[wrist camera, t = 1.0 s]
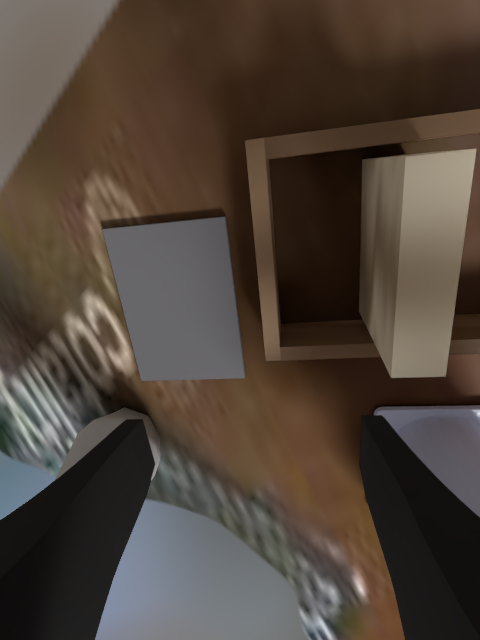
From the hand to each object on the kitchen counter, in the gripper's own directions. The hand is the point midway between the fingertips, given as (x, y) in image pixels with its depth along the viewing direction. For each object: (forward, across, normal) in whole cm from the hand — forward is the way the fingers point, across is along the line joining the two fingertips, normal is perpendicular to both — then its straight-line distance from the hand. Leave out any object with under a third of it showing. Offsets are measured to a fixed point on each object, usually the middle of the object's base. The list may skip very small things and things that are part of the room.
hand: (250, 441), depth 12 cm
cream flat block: (+10, -6, -4) cm, 13 cm away
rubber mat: (+10, +5, -1) cm, 12 cm away
